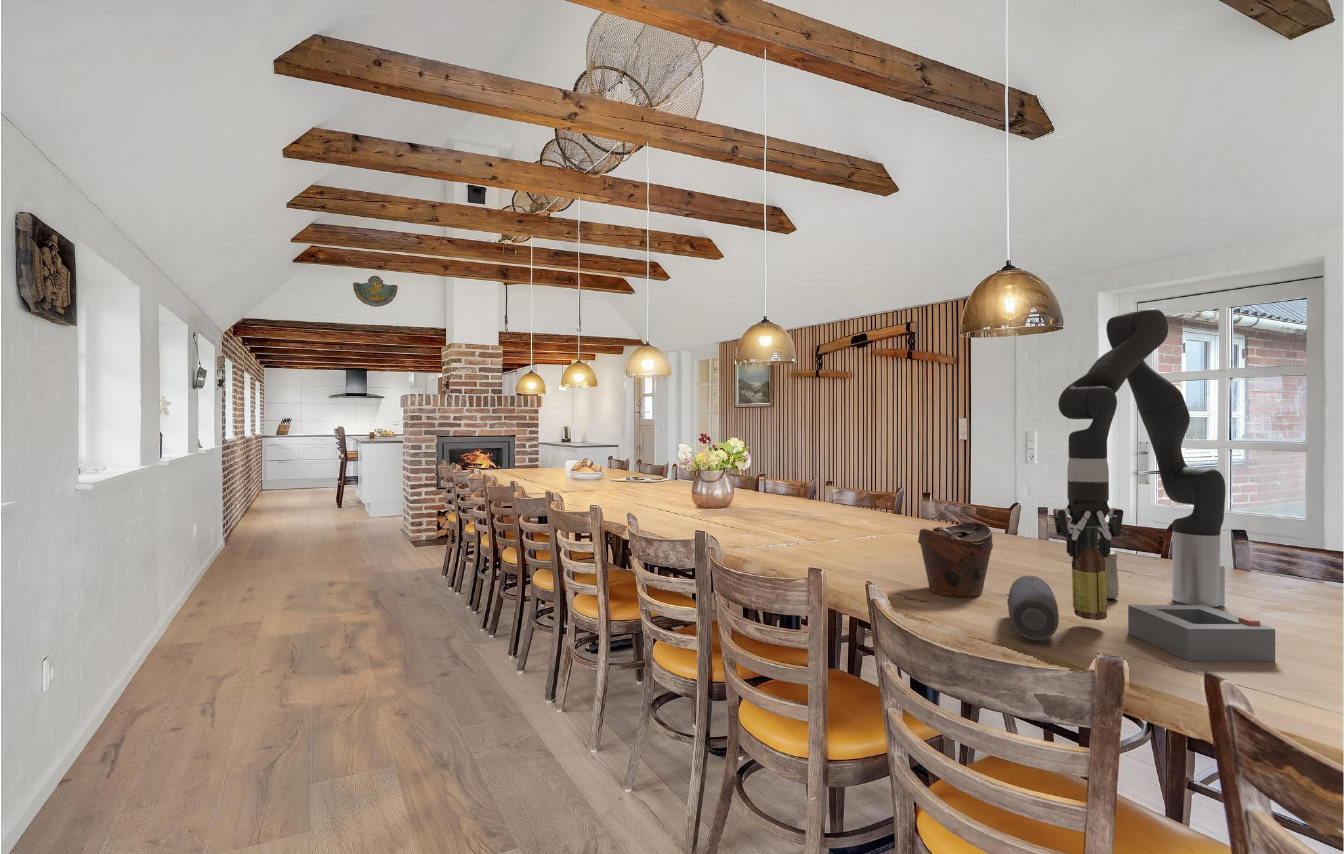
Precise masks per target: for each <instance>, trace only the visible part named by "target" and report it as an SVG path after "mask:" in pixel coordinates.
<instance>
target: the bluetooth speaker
mask: <svg viewBox="0 0 1344 854" xmlns="http://www.w3.org/2000/svg"><path fill="white" fill-rule="evenodd" d="M1008 593H1009V594H1008V598H1007V607H1008V615H1009V620H1010V623H1011V624H1012V627H1013V628H1014V630H1015V631H1016V632H1017V633H1018V634H1019V635H1021V636H1022V637H1023V638H1026V639H1028V640H1031V641H1032V640H1033V641H1044V640H1047V639H1049V638H1051V637H1052V636H1053V635H1054V634H1055V632H1056V631H1057V629H1058V626H1059V621H1060V620H1059V619H1060V617H1059V608H1058V603H1057V600H1056V596H1055V594H1054V592H1053V590H1052V588H1051V587H1050V585H1049V584H1048V583H1047V582H1046V581H1045V580H1043V579H1041V578H1040V577H1038V576H1034V575H1023V576H1020V577H1019V578H1016V579H1015V581H1013V583H1012V584H1011V586H1010V589H1009V592H1008Z"/></svg>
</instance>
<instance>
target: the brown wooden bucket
mask: <svg viewBox="0 0 1344 854" xmlns="http://www.w3.org/2000/svg"><path fill="white" fill-rule="evenodd" d="M917 543H918V544H919V545H920V549H921V553H922V558H923V563H924V567H925V568H924V569H925V572H926V578H927V582H928V583H927V584H928V588H929V591H930V592H932V593H933V594H937V595H942V596H947V597H954V598H972V597H973V598H974V597H978V596H981V595H982V594H983V589H984V586H985V581H986V575H987V573H988V566H989V562H990V558H991V553H992V550H993V549H994V547H993V546H994V544H993V532H992V530H991V528H990V527H989V526H987V525H986V524H985V523H981V522H977V521H975V522H974V521H973V522H972V521H971V522H964V523H961V524H957V525H953V526H947V527H943V526H942V527H941V526H939V527H935V528H933V529H928V528H921V529H919V533H918V541H917Z"/></svg>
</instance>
